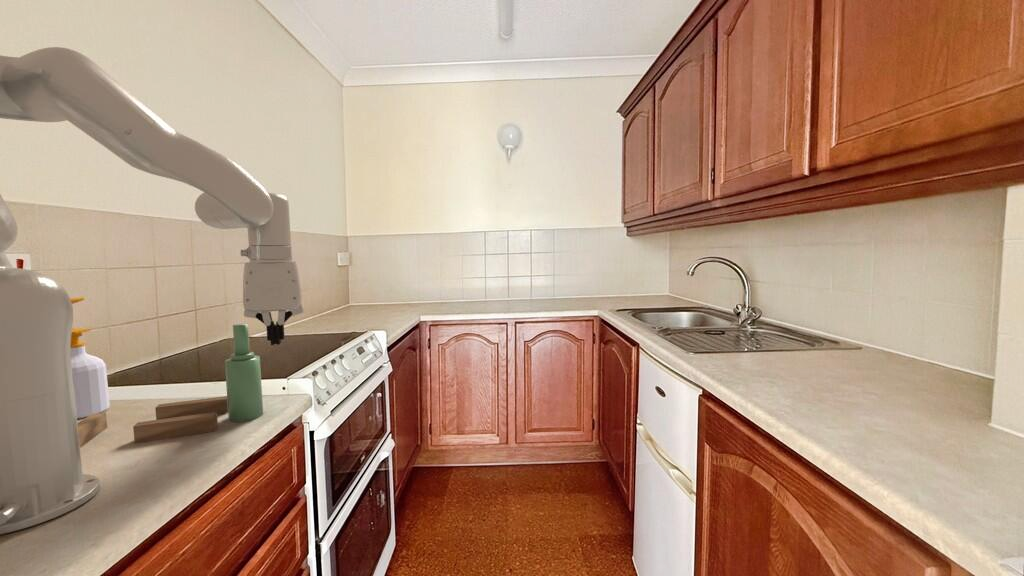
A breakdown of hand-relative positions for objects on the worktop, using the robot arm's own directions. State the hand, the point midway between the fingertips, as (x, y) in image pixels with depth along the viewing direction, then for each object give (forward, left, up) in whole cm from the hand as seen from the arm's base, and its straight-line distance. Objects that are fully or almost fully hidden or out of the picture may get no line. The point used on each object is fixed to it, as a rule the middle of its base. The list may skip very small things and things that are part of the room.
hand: (276, 343), depth 87 cm
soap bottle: (+17, +39, -15) cm, 45 cm away
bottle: (0, +6, -15) cm, 16 cm away
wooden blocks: (0, +21, -15) cm, 26 cm away
